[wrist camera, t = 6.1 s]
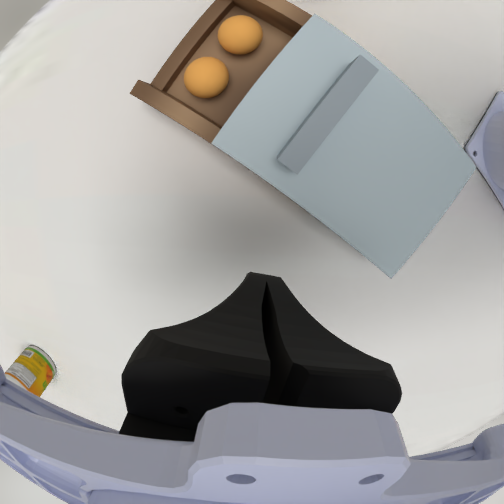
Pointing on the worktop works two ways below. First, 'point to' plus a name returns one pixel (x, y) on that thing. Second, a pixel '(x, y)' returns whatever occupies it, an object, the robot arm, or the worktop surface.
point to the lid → (348, 145)
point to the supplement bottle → (32, 370)
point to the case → (239, 65)
